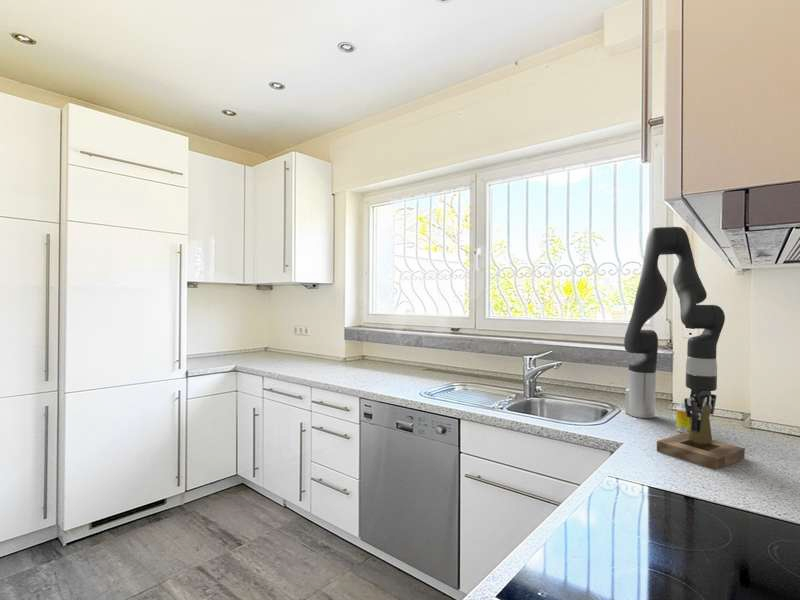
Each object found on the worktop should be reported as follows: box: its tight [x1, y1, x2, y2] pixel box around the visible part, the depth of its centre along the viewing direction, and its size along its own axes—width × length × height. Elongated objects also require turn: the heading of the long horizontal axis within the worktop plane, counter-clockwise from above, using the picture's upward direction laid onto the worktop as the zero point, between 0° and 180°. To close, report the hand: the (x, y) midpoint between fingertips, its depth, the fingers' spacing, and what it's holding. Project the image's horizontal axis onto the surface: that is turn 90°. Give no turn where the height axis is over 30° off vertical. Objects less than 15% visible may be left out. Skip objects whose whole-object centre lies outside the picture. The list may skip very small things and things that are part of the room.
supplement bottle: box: [675, 400, 691, 433], centre depth 147 cm, size 6×6×10 cm
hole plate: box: [656, 432, 746, 471], centre depth 127 cm, size 16×16×3 cm
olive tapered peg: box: [688, 404, 713, 443], centre depth 126 cm, size 6×6×11 cm
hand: (699, 430), depth 127 cm, fingers closed on olive tapered peg, 4 cm apart
